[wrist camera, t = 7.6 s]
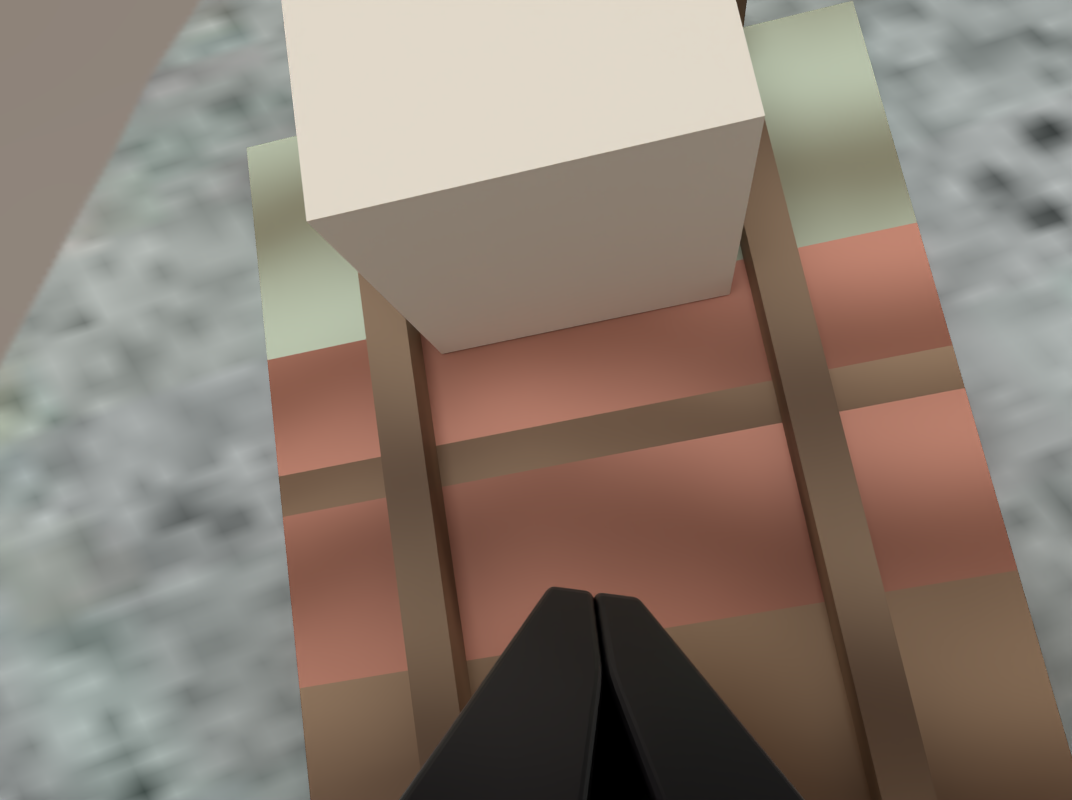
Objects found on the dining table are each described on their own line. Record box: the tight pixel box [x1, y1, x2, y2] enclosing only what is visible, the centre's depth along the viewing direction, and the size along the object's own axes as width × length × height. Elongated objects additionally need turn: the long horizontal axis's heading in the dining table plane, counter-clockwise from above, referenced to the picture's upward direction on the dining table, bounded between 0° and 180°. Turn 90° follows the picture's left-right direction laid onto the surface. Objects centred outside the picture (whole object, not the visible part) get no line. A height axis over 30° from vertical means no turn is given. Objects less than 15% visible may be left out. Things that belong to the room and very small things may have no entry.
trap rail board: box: [247, 0, 1072, 800], centre depth 19 cm, size 21×16×4 cm
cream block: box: [281, 0, 765, 354], centre depth 17 cm, size 5×7×8 cm
